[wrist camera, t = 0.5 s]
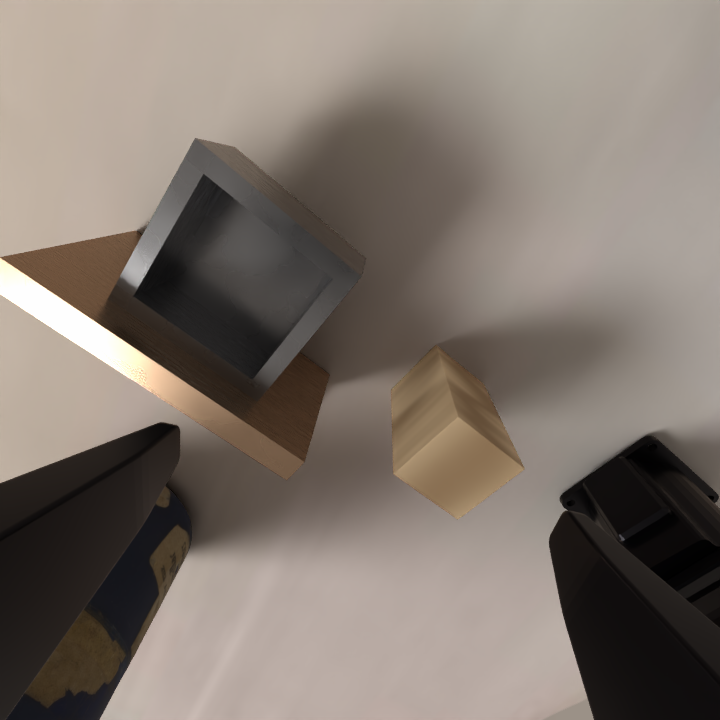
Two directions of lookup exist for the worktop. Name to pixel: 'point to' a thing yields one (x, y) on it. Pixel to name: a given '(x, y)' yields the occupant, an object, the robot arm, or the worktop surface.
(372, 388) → the worktop surface
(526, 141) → the worktop surface
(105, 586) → the canister
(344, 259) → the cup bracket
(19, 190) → the worktop surface
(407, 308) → the worktop surface
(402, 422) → the rail end
